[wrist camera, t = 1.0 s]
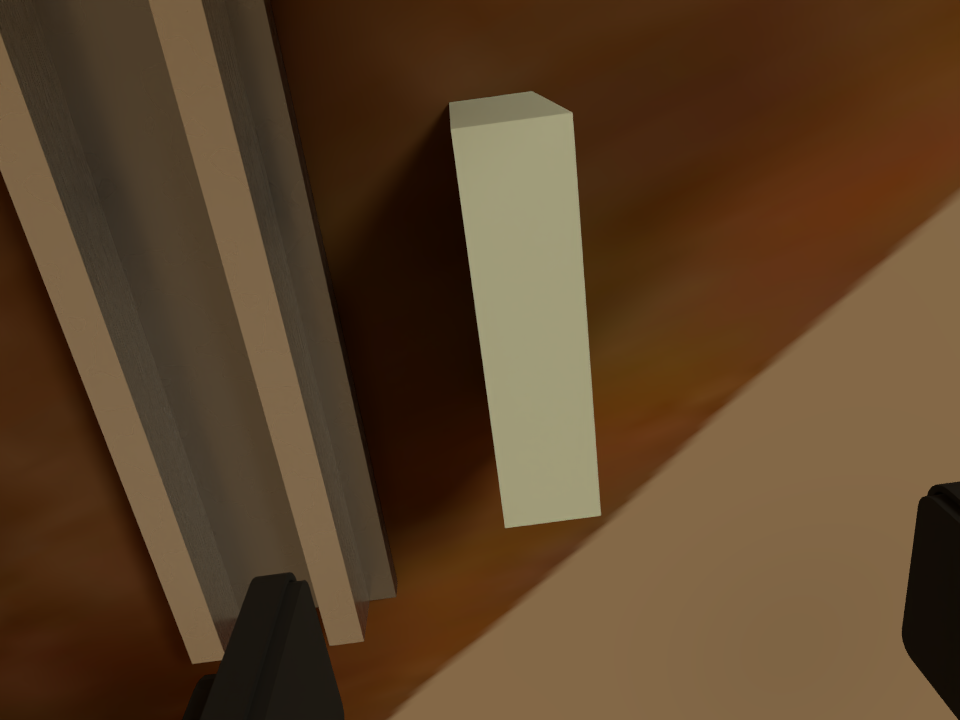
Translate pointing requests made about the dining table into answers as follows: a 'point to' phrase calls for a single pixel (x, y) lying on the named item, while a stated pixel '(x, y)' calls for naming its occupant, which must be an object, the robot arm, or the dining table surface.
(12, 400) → the dining table surface
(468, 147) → the door panel
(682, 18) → the dining table surface
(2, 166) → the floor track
